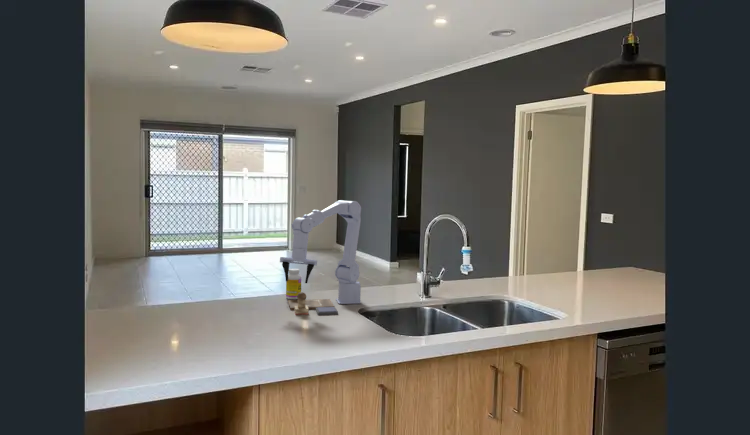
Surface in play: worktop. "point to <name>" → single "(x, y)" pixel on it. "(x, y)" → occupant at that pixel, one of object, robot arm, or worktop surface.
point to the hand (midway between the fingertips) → (296, 282)
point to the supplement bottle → (293, 284)
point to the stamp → (301, 305)
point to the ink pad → (326, 311)
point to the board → (312, 303)
